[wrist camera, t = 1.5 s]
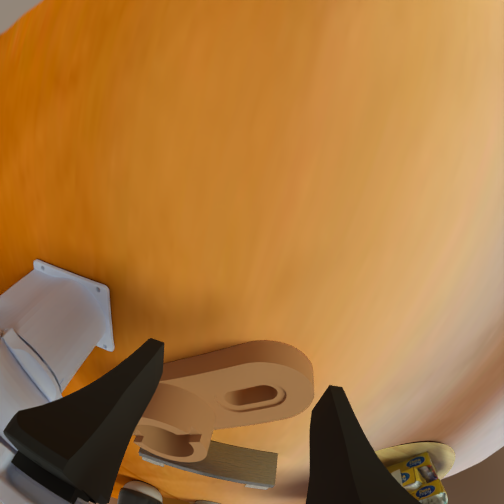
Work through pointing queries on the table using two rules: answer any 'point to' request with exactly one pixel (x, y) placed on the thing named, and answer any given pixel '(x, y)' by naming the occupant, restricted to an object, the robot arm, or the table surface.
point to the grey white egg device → (139, 494)
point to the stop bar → (228, 465)
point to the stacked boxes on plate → (420, 468)
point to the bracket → (223, 396)
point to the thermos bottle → (205, 502)
